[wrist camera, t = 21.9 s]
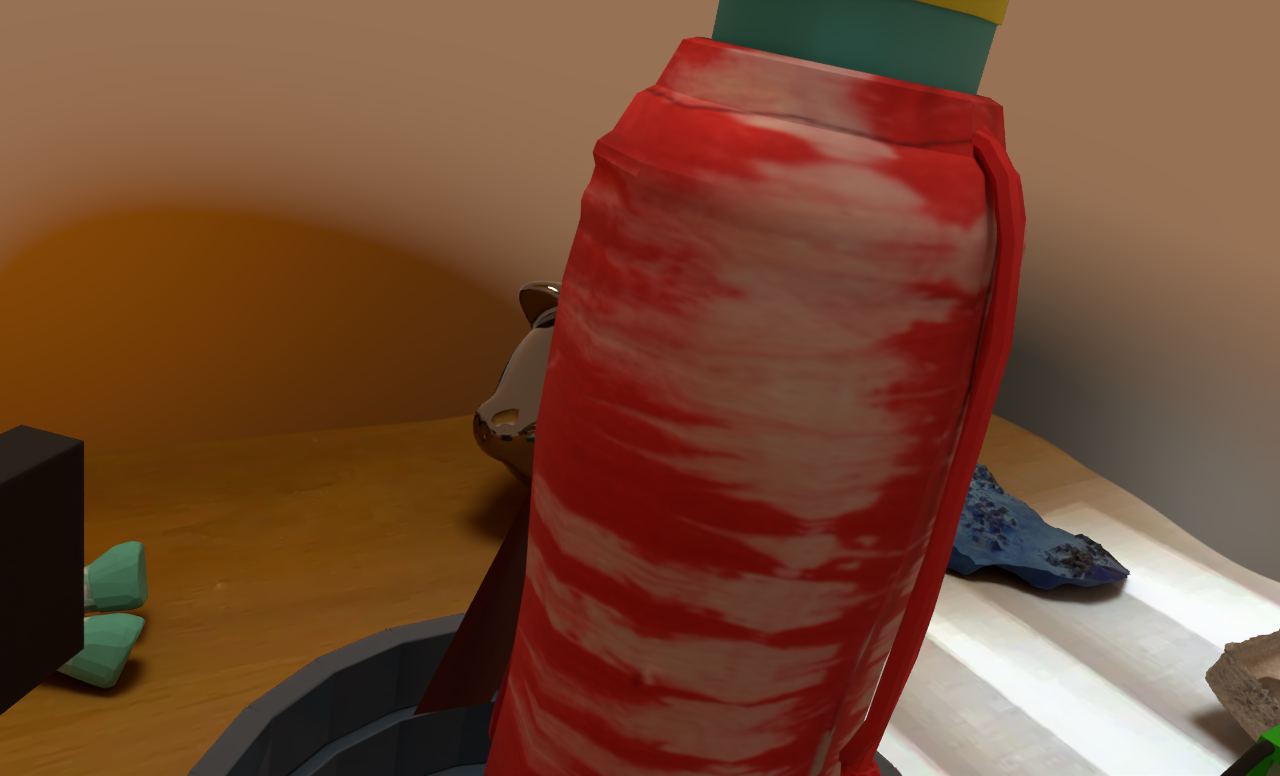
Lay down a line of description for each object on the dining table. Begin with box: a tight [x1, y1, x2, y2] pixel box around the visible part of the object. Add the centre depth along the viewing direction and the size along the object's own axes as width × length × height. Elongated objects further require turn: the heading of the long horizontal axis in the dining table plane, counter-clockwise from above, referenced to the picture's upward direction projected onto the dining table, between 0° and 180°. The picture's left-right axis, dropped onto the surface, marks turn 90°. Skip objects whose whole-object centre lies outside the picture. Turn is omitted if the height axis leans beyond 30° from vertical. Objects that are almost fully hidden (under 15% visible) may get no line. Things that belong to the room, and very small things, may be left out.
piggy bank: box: [473, 281, 562, 490], centre depth 47 cm, size 11×15×12 cm
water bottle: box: [413, 0, 1027, 776], centre depth 20 cm, size 12×8×25 cm, turn 37°
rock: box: [947, 463, 1130, 590], centre depth 56 cm, size 15×17×2 cm
